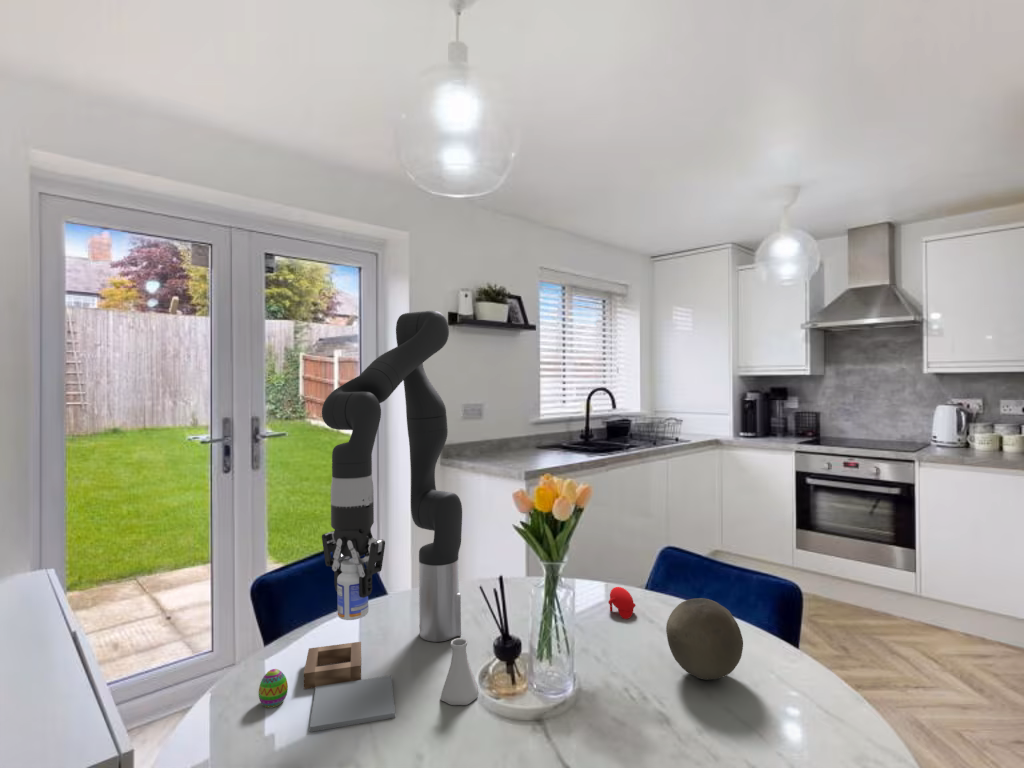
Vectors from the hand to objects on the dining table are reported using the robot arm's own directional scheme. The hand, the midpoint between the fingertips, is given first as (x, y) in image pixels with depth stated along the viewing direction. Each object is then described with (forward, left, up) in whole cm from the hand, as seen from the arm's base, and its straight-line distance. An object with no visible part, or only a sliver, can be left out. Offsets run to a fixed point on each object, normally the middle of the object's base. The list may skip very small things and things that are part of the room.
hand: (353, 592), depth 99 cm
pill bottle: (0, 0, -4) cm, 4 cm away
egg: (+14, -5, -20) cm, 25 cm away
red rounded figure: (-65, -22, -20) cm, 72 cm away
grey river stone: (-66, +11, -20) cm, 70 cm away
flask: (-19, +3, -20) cm, 28 cm away
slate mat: (0, 0, -20) cm, 20 cm away
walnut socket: (+4, -13, -20) cm, 24 cm away
